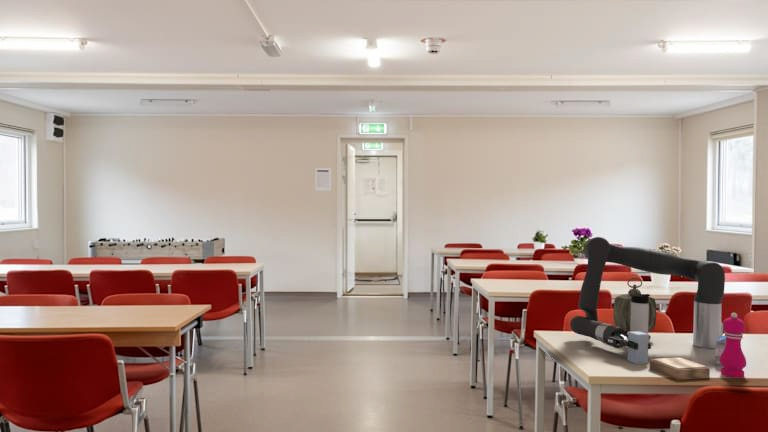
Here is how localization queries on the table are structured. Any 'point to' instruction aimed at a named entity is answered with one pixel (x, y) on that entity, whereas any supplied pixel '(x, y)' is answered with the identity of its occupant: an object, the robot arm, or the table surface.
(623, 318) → the tabletop clock
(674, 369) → the block
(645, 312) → the travel mug
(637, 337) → the slate-blue block
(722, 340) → the label tape box
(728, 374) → the pepper mill
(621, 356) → the table surface
